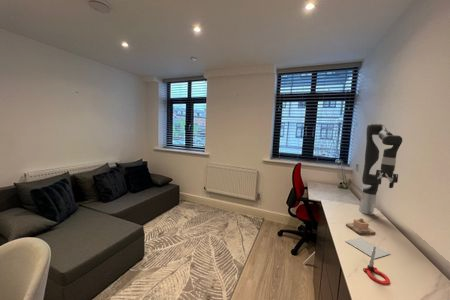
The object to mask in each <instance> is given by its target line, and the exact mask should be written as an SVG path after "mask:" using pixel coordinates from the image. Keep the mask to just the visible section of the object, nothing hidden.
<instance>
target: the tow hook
mask: <svg viewBox="0 0 450 300" xmlns="http://www.w3.org/2000/svg"><path fill="white" fill-rule="evenodd" d="M375 249H376V247H374V249H373V251H372V256H370V260H369V262H368V263H369V264H368V265H367V266H366V267H363V268H362V270H363V271H364V272H366V275H367V276H368V278H369V279H371V280H372V281H374V282H375V283H377V284H380V285H385V286H386V285H389V284H390V283H391V279H390V278H389V276H388V275H387V274H385V273H383V272H381V271H380V270H378V268H377V267H375V266H374V265H375V262H374V261H375V259H374V257H375V252H376V251H375ZM372 272H373V273H376V274H378V275H380V276H382V277H383V278H384V280H380V279H378V278H376V277H375V276H374V275H373V274H372Z"/></svg>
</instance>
